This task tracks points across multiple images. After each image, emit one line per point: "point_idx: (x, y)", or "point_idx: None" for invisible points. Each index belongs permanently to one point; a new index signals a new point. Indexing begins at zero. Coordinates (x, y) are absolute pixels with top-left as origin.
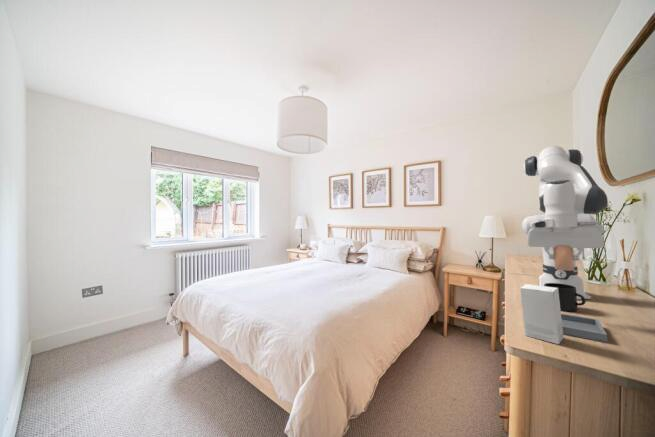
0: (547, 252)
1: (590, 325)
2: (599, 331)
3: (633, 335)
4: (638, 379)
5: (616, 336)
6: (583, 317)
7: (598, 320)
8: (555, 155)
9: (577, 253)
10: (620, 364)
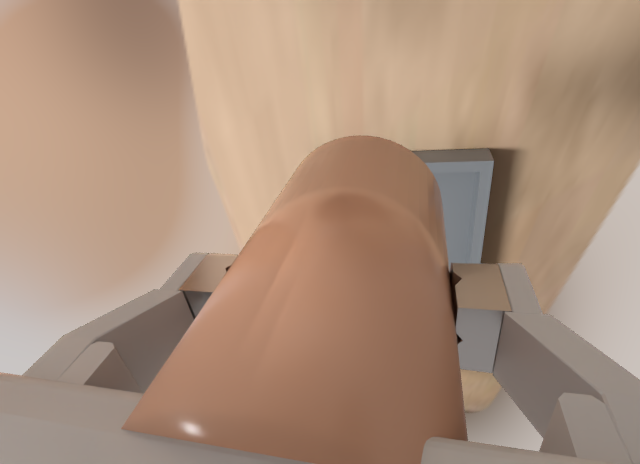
0: (157, 369)
1: (458, 179)
2: (469, 246)
3: (582, 179)
4: (472, 410)
5: (516, 223)
6: (442, 166)
7: (491, 175)
8: None
9: (527, 362)
10: (462, 377)
